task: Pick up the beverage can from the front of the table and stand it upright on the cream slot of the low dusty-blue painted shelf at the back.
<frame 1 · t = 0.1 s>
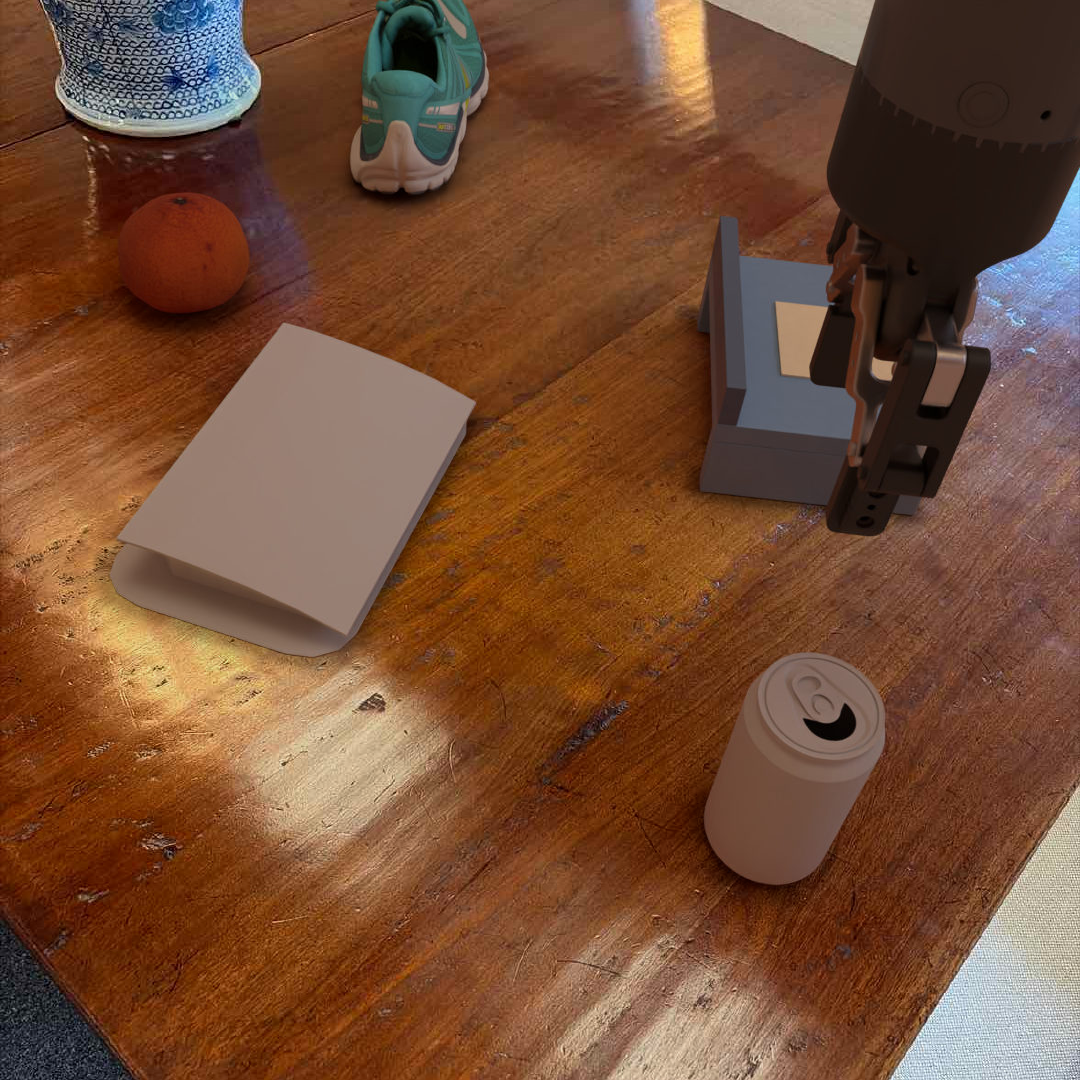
hand: (841, 450, 48), 22 cm above the table, tool pointing down, fingers open, 8 cm apart
book: (302, 494, 75), on the table
running shoe: (423, 120, 105), on the table
beverage can: (761, 834, 61), on the table
fruit: (189, 297, 86), on the table
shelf: (797, 410, 83), on the table
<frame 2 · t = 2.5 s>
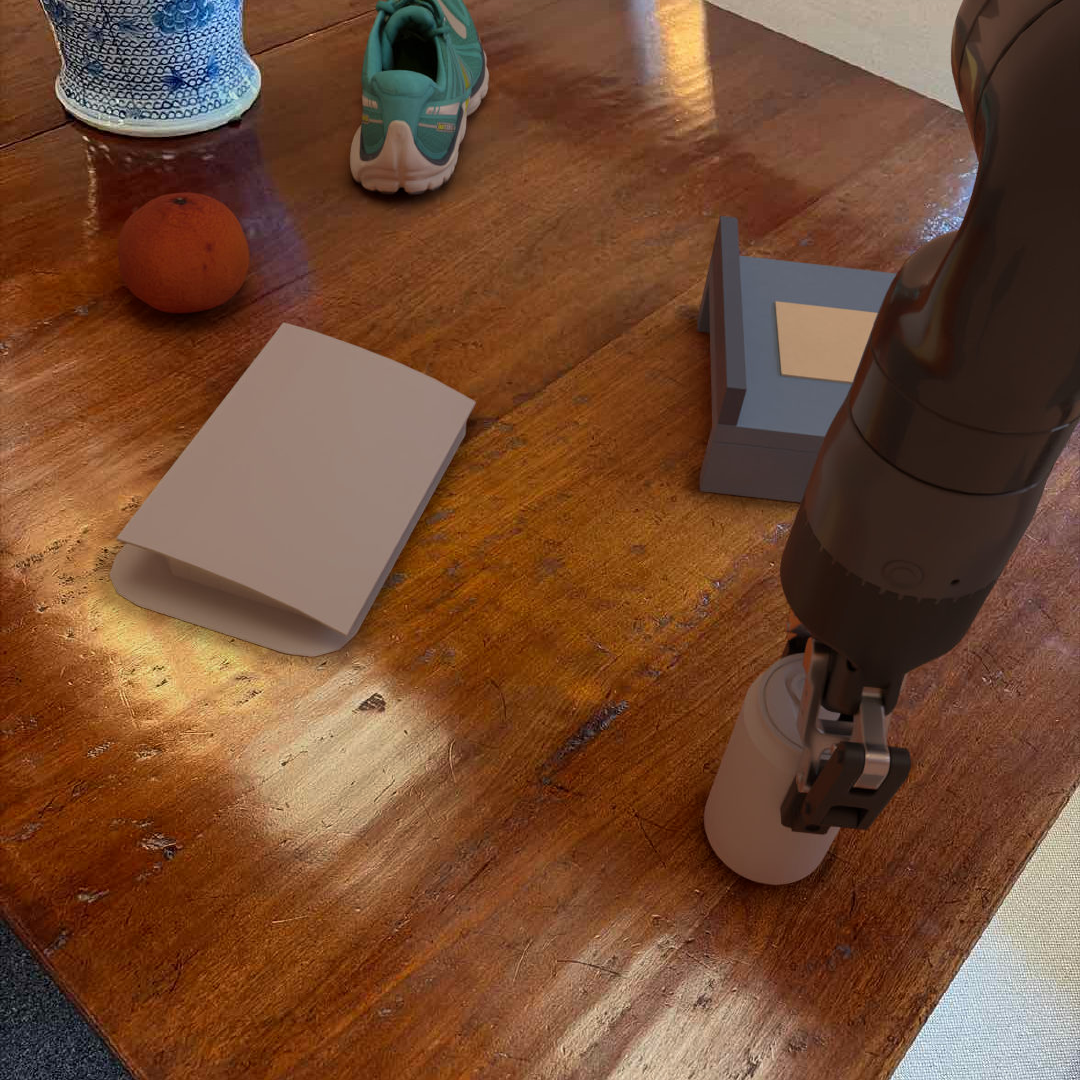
hand: (797, 753, 56), 8 cm above the table, tool pointing down, fingers closed on beverage can, 6 cm apart
beverage can: (761, 834, 61), on the table, touching gripper
everything else where it was.
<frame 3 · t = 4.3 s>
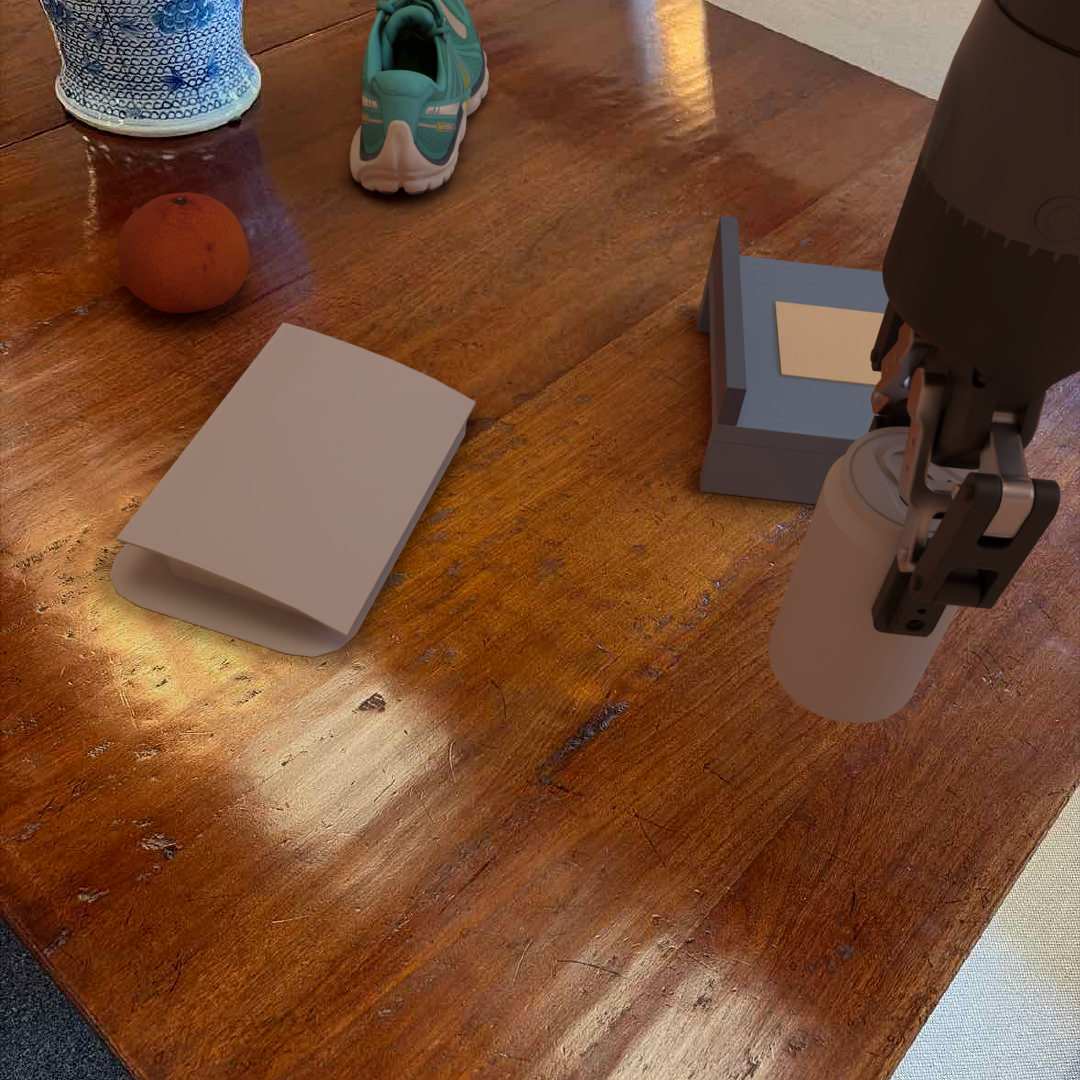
hand: (887, 554, 46), 21 cm above the table, tool pointing down, fingers closed on beverage can, 6 cm apart
beverage can: (835, 673, 52), point 13 cm above the table, touching gripper
everything else where it was.
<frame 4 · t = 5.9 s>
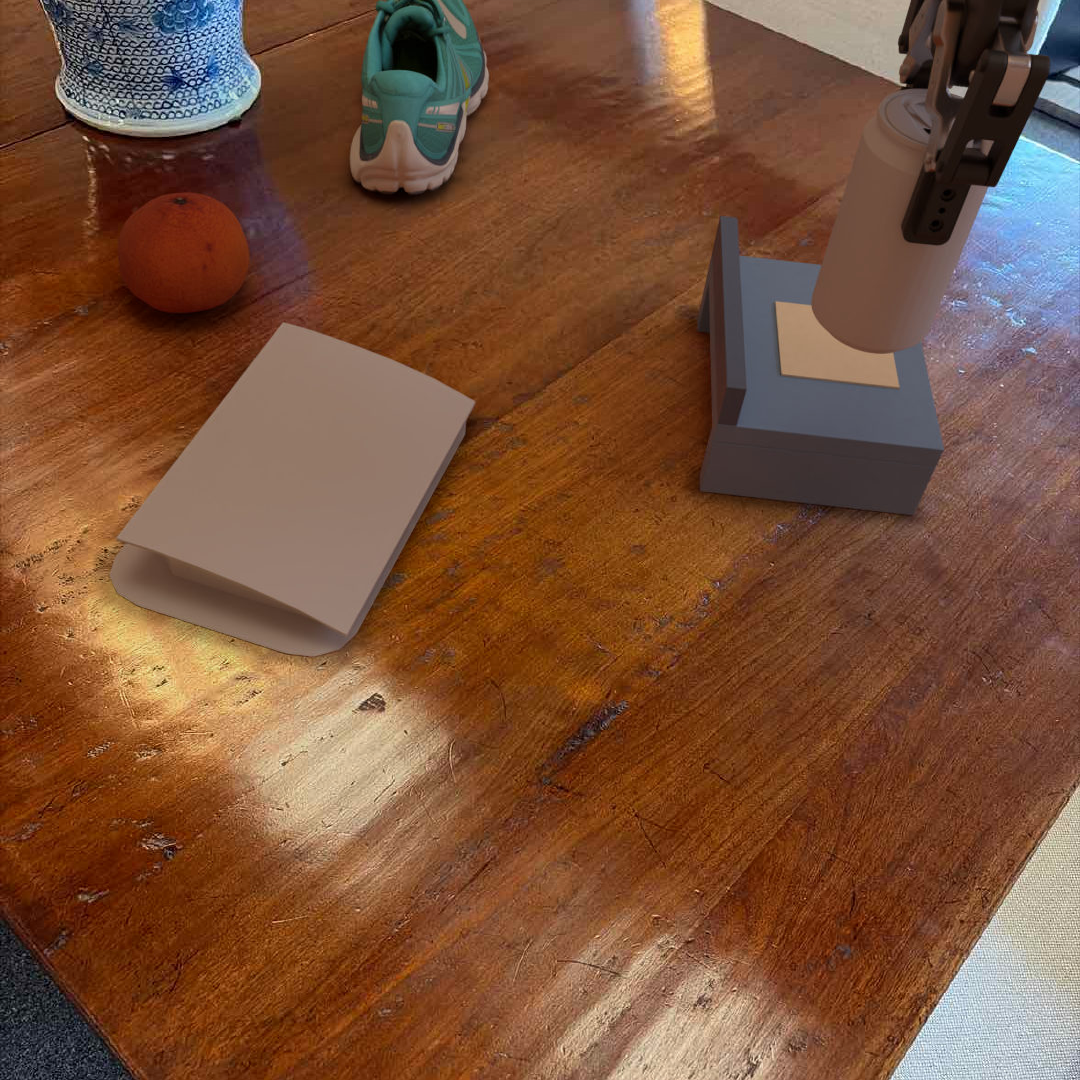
hand: (911, 197, 58), 24 cm above the table, tool pointing down, fingers closed on beverage can, 6 cm apart
beverage can: (865, 326, 64), point 16 cm above the table, touching gripper
everything else where it was.
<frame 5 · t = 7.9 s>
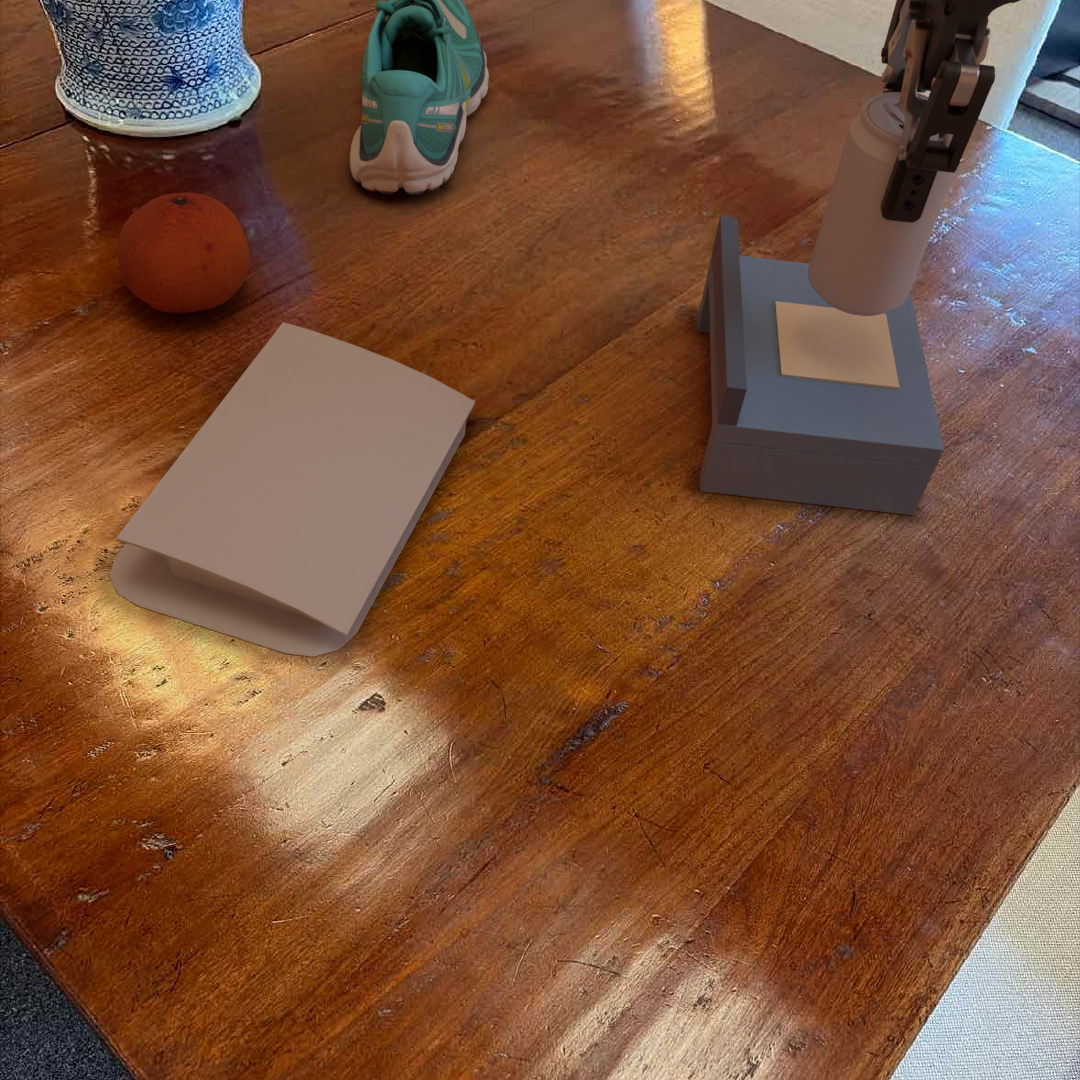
hand: (891, 183, 70), 18 cm above the table, tool pointing down, fingers closed on beverage can, 6 cm apart
beverage can: (853, 293, 76), point 10 cm above the table, touching gripper
everything else where it was.
when the fingers open (14 cm above the table, at t = 9.5 s): beverage can stays where it is, resting on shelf.
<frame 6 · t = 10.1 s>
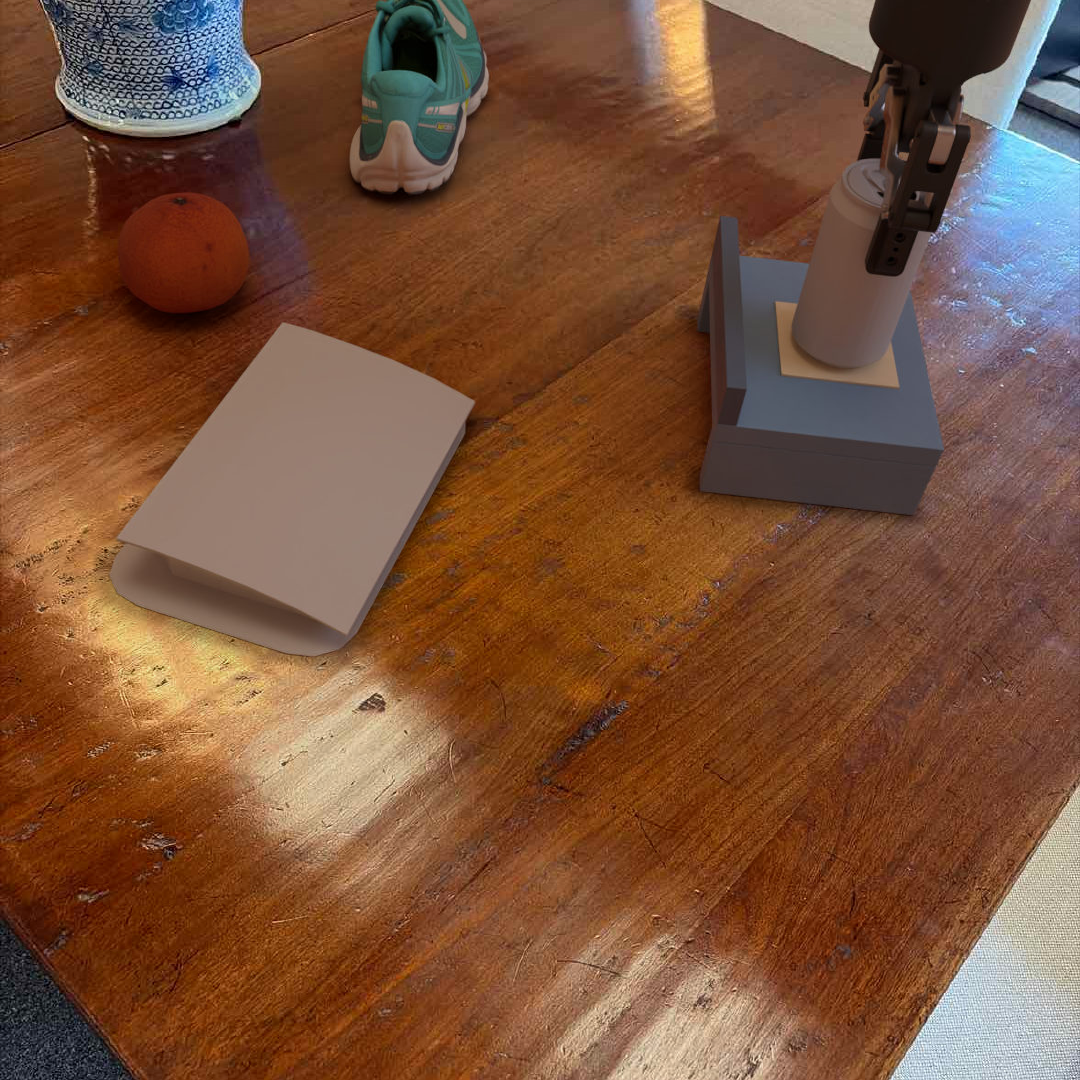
hand: (873, 230, 72), 15 cm above the table, tool pointing down, fingers open, 8 cm apart
beverage can: (835, 345, 79), point 6 cm above the table, touching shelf
everything else where it was.
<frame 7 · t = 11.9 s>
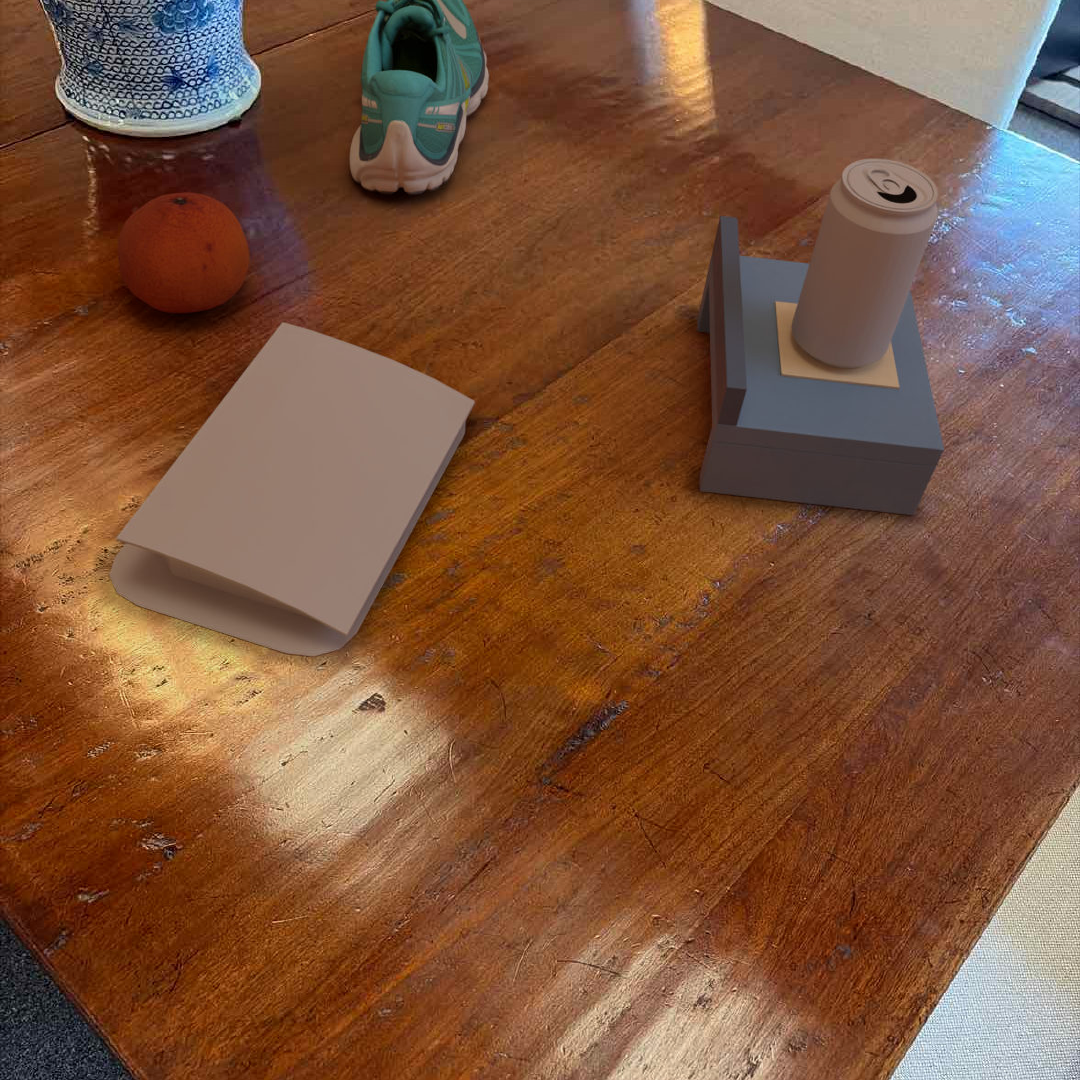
nothing on the table moved.
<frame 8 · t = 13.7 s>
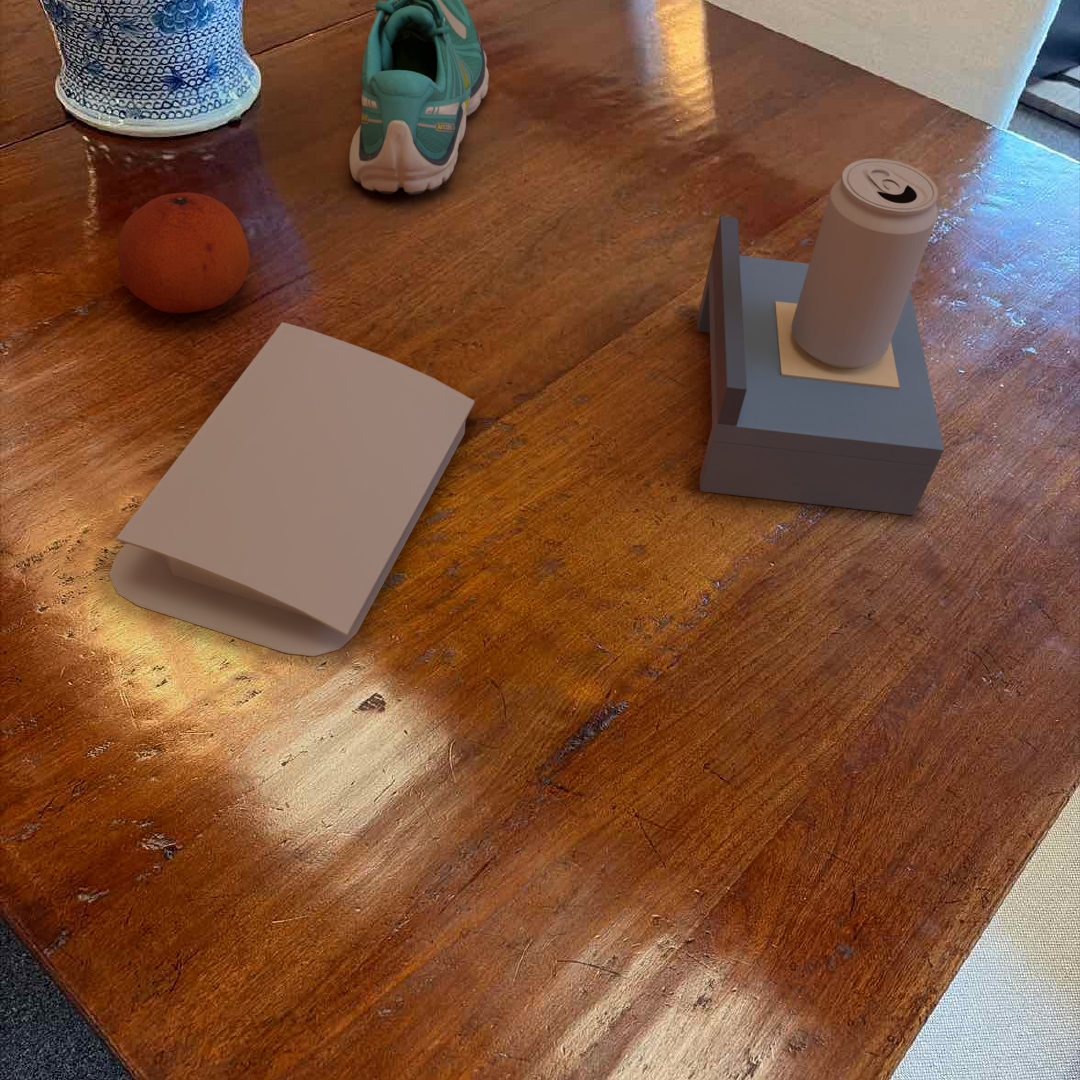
nothing on the table moved.
at the end: beverage can 0.1 cm from the target spot on the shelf, point 6.0 cm above the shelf's base; beverage can tilted 0°; the gripper is holding nothing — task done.
